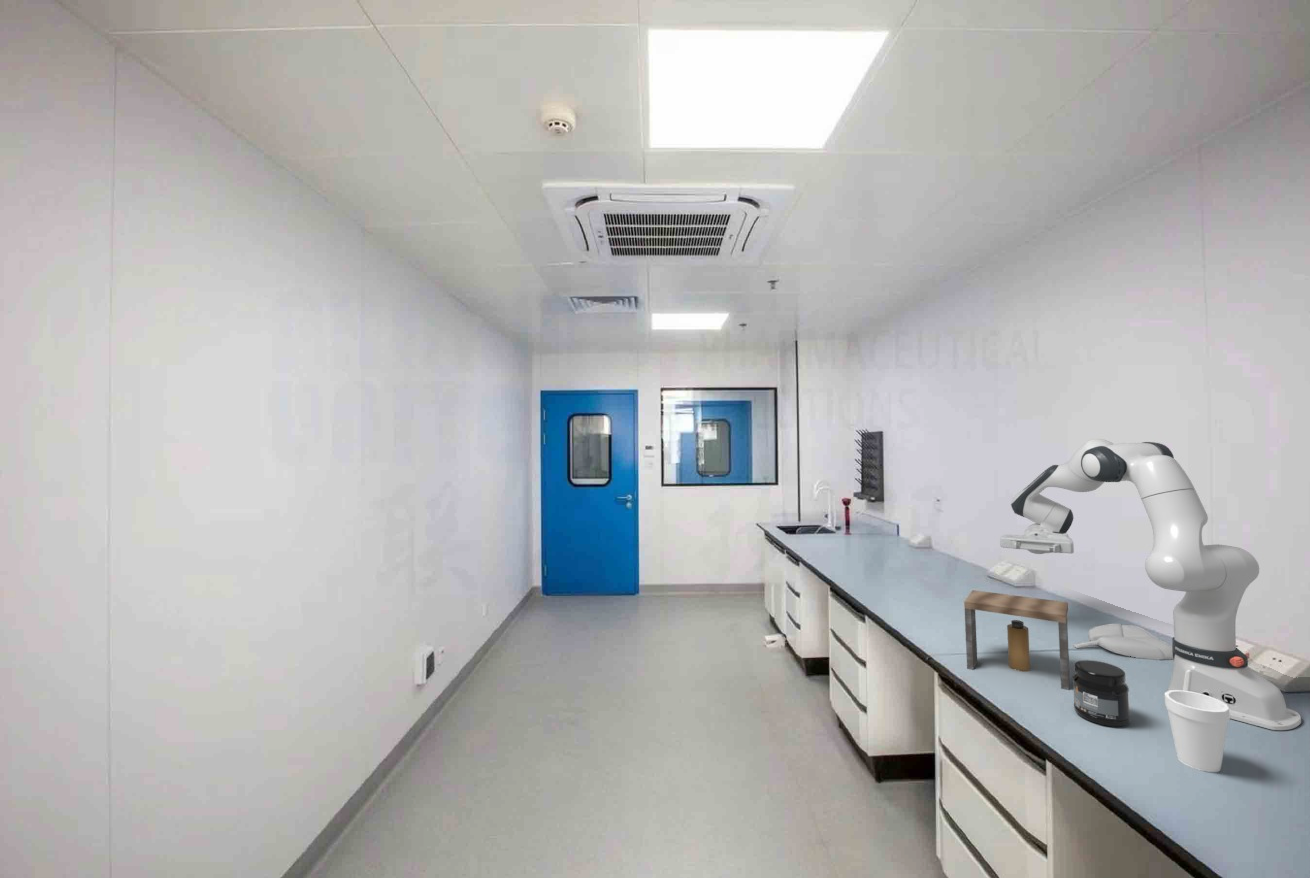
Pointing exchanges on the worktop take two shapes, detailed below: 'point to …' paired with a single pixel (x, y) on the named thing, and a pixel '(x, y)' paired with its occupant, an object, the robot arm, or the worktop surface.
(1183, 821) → the worktop surface
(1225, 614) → the robot arm
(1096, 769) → the worktop surface
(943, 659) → the worktop surface
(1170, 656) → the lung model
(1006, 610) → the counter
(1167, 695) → the foam cup
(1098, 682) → the supplement container
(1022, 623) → the amber bottle
